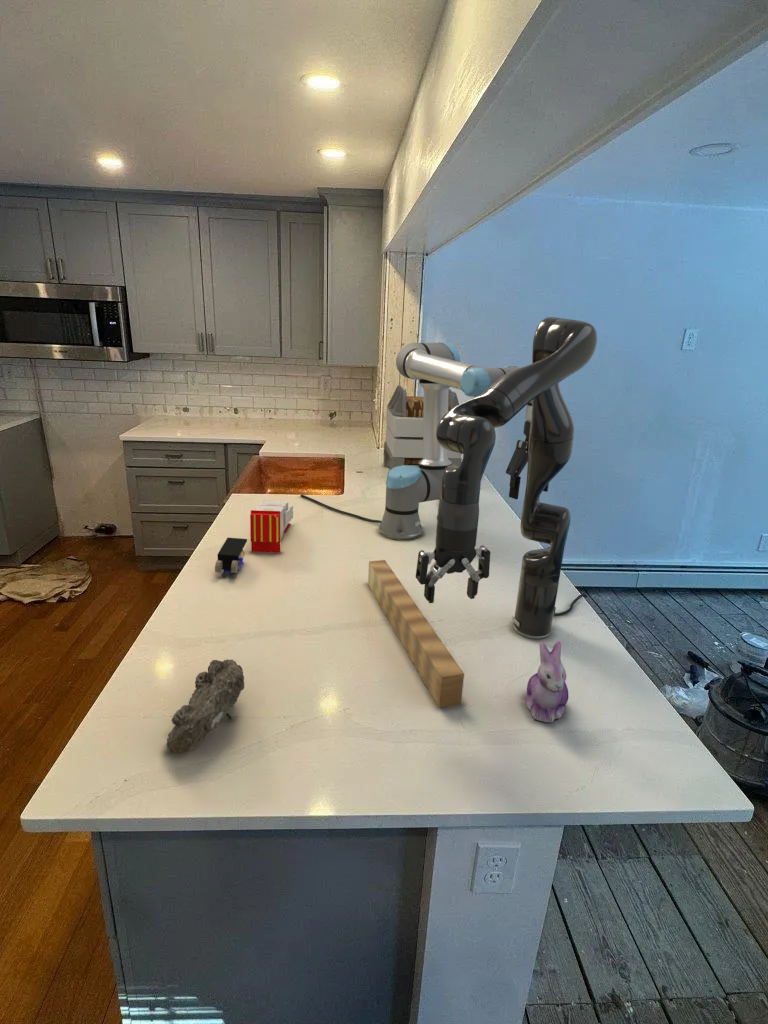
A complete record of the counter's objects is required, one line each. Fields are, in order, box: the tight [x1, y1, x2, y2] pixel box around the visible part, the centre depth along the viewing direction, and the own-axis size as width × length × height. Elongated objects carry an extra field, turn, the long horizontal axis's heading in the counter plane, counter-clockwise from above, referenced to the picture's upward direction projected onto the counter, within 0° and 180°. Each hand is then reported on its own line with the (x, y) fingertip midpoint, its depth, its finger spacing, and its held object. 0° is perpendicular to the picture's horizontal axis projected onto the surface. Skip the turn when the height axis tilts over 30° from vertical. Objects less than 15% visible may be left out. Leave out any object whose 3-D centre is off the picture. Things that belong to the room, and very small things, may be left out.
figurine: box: [525, 640, 570, 723], centre depth 112 cm, size 9×10×15 cm
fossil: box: [166, 658, 245, 754], centre depth 106 cm, size 22×10×15 cm
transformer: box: [383, 384, 463, 471], centre depth 268 cm, size 34×33×41 cm
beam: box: [367, 559, 465, 708], centre depth 137 cm, size 55×5×7 cm, turn 17°
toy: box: [249, 500, 294, 554], centre depth 191 cm, size 12×13×30 cm
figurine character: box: [214, 537, 248, 578], centre depth 166 cm, size 7×8×15 cm
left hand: (528, 494), depth 164 cm, fingers open, 13 cm apart
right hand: (450, 599), depth 110 cm, fingers open, 8 cm apart
